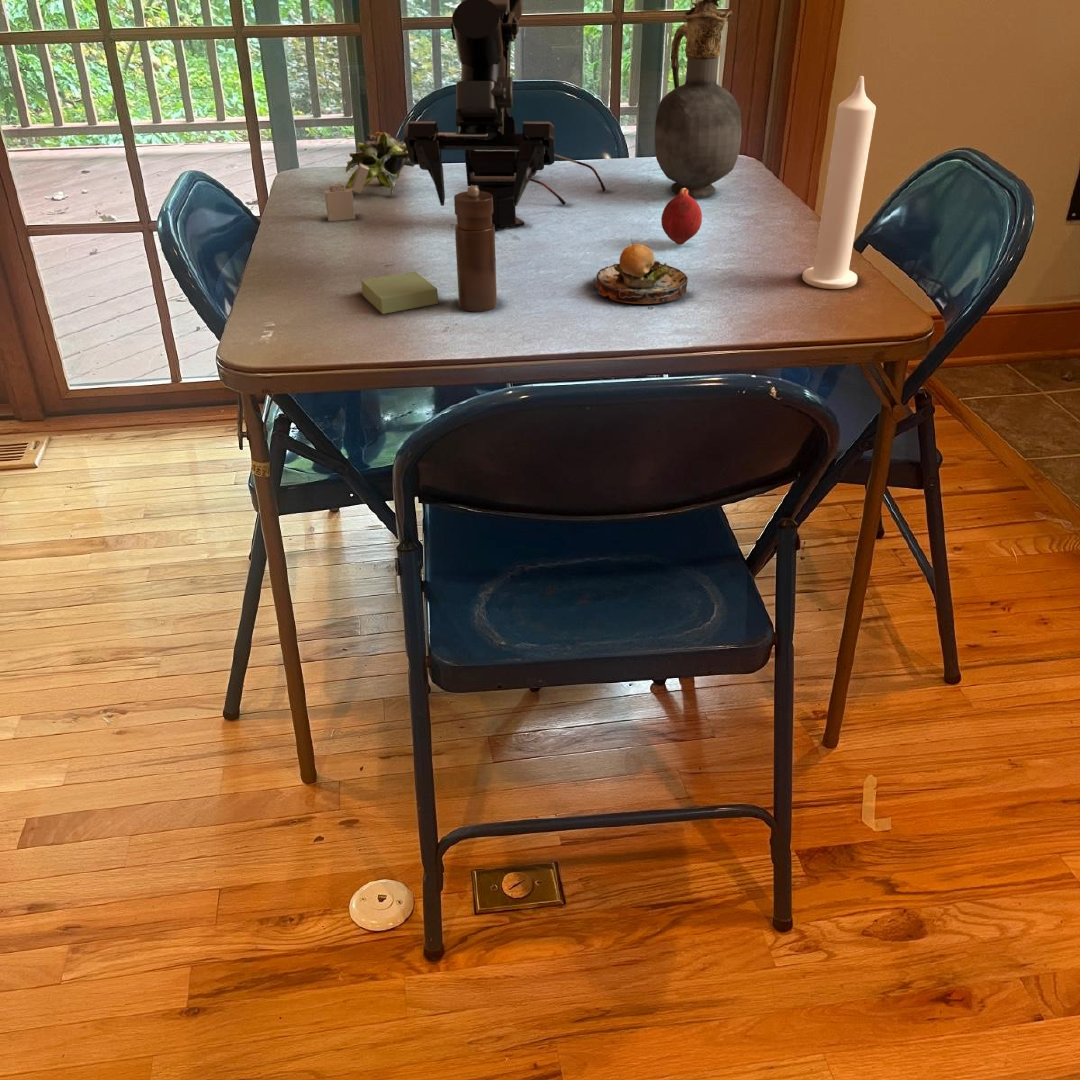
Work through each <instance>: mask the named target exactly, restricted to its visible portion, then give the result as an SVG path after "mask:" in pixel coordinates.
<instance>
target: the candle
mask: <svg viewBox="0 0 1080 1080" xmlns="http://www.w3.org/2000/svg"><path fill="white" fill-rule="evenodd" d="M876 112H877V106H876V104H874V103H873V102H872V101H871V99H870V98H869V97H867V94H866V90H865V76H863V75H859V77H858V79H857V82H856V84H855V87H854V90H853V91H852V93H851V94H850V95H849V96H848V97H846V99H844V100H843V101H841V102H840V103H838V105H837V108H836V115H835V121H834V129H833V134H832V136H833V137H832V142H831V148H830V156H829V161H828V168H827V169H828V170H827V176H826V182H825V188H824V194H823V195H824V196H823V202H822V210H821V215H820V223H819V229H818V237H817V242H816V243H817V244H816V250H815V257H814V263H813V266H812V267H808V268H806V269H804V270H803V272H802V277H801V278H802V281H804V283H806V284H808V285H809V286H811V287H815V288H820V289H826V290H843V289H848V288H849V289H850V288H852V287H854V286H855V285H856V284H857V283H858V275H857V273H855V272H854V271H852V270H850V264H851V260H852V252H853V247H854V242H855V236H856V230H857V223H858V217H859V212H860V205H861V201H862V194H863V189H864V183H865V177H866V171H867V164H868V159H869V153H870V147H871V142H872V135H873V130H874V124H875V119H876V118H875V116H876Z"/></svg>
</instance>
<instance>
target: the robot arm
mask: <svg viewBox="0 0 1080 1080" xmlns="http://www.w3.org/2000/svg"><path fill="white" fill-rule="evenodd" d="M522 15H523V0H461V1H460V4H458V5H457V6H456V7H455V9H454V11H453V13H452V17H451V19H452V20H451V23H450V30H451V36H452V40H453V41H455V46H456V51H457V57H458V59H459V61H460V63H461V65H460V66H461V67H460V69H461V70H460V80H459V81H456V83H455V95H456V96H455V99H456V100H455V103H456V104H455V124H456V127H458V132H440V131H439V127H438V122H437V121H435V120H434V121H432V120H431V121H430V120H429V121H427V120H421V121H420V120H410V121H409V122H407V124H406V125H405V127H404V134H403V140H404V141H403V142H404V143H405V145H406V148H407V150H406V151H407V152H408V156H409V159H410V162H411V163H413V164H415V165H414V166H419V169H420V170H423V171H428V174H429V175H430V178H431V179H432V182H433V183H434V186H435V190H436V193H437V197H438V200H439V204H440V206H441V207H443V206H445V201H446V194H445V193H446V192H445V179H444V166H443V161H442V151H464V160H465V172H466V184H467V187H470V186H476V187H477V188H478V189H479V191H483V192H488V193H490V194H492V196H493V214H492V223H493V224H494V226H495V231H498V230H503V229H504V230H505V229H510V228H517V227H523V226H525V224H526V223H525V221H524V220H522V219H520V218H518V217H517V214H516V213H517V212H516V210H517V209H516V208H517V206H518V205H519V203H520V200H521V198H522V197H523V194H524V192H525V190H526V187H528V184H529V182H531V181H530V179H531V178H532V179H533V177H534V176H535V175H536V174H535V172H536V171H537V172H538V171H543V170H544V169H545V166H551V165H553V164H555V156H554V154H556V153H555V147H556V146H555V143H556V141H555V126H554V125H553V123H552V122H551V121H522V131H521V132H522V133H519V132H518V126H517V124H516V120H515V119H514V117H513V115H510V109H512V108H513V107H514V91H513V90H514V84H513V83H514V81H513V77H512V76H511V57H512V56H511V54H512V49H511V48H512V43H515V40H516V39H517V35H518V33H519V32H520V23H519V22H520V21H519V20H520V19H521V17H522ZM537 172H536V173H537ZM515 173H516V174H515ZM534 174H535V175H534ZM533 175H534V176H533ZM532 176H533V177H532Z"/></svg>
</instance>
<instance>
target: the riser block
mask: <svg viewBox="0 0 1080 1080" xmlns="http://www.w3.org/2000/svg"><path fill="white" fill-rule="evenodd" d="M360 283H361V292H362V296H363V297H364V298H365V299H366V300H367V301H368V302H369V303H371V305H372V306H373V307H374V308H375V309H376V310H378V311H379V312H380V314H382V315H386V314H391V313H396V312H401V311H407V310H412V309H417V308H418V309H419V308H423V307H427V306H433V305H438V304H439V294H438V293H439V291H438V288H437V287H436V286H435V285H433V284H432V283H431V282H430V281H428V280H427V279H426V278H425V277H423V276H422V274H420V273H418V272H417V271H415V270H413V271H408V272H402V273H397V274H391V275H384V276H379V277H373V278H367V279H362V280H361V281H360Z"/></svg>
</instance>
